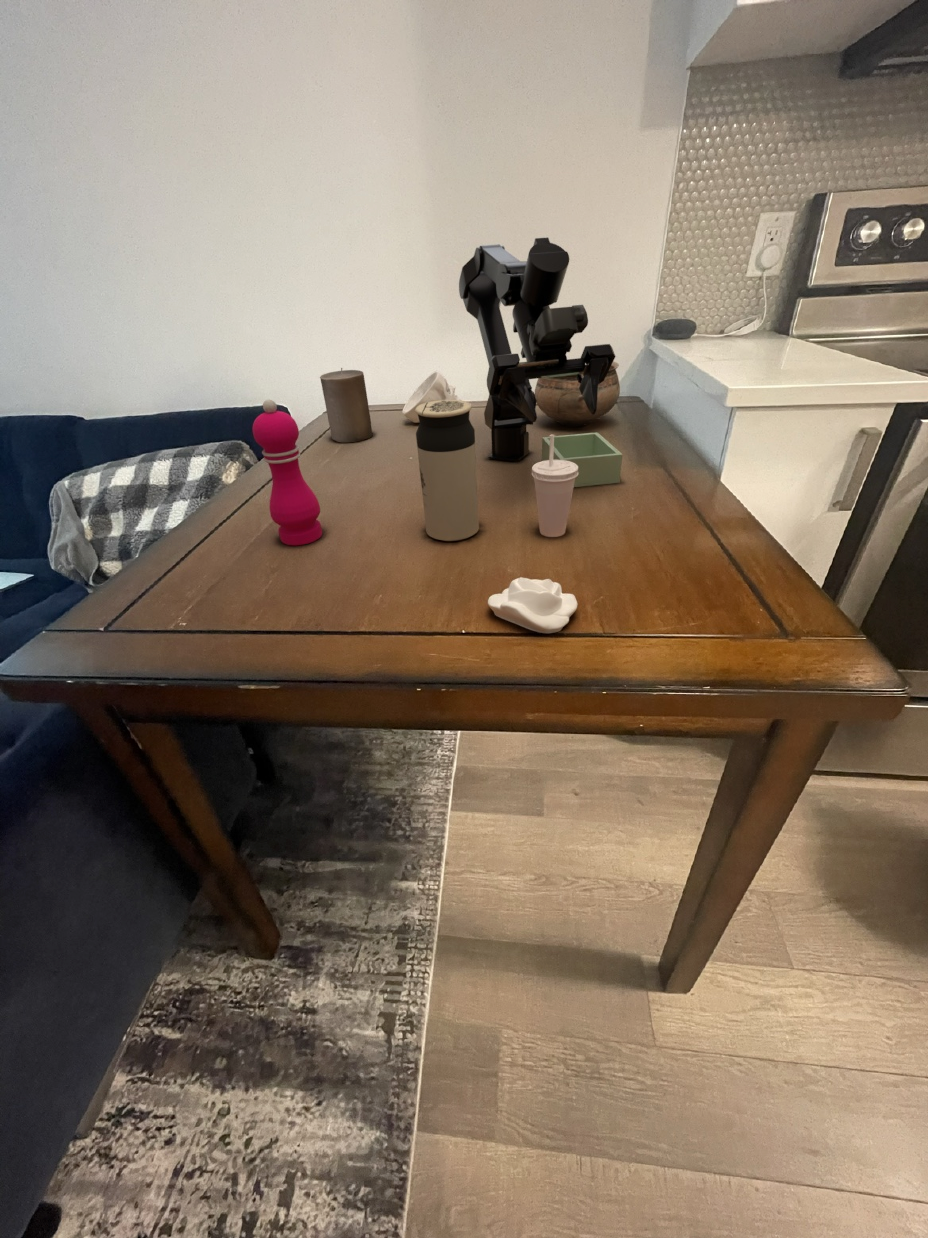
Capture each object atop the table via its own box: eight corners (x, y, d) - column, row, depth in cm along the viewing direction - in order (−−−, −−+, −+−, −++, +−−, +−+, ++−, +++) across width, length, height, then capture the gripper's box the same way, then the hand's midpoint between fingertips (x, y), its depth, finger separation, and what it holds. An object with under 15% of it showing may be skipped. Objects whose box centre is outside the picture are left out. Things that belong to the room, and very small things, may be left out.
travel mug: (483, 520, 84) (478, 398, 74) (473, 543, 78) (466, 413, 68) (433, 519, 86) (422, 399, 76) (420, 541, 79) (405, 414, 69)
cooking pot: (526, 412, 137) (527, 359, 130) (601, 406, 137) (605, 353, 130) (543, 440, 116) (545, 379, 109) (631, 434, 116) (638, 372, 110)
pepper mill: (283, 551, 79) (244, 409, 68) (273, 533, 85) (236, 399, 73) (331, 539, 82) (301, 400, 71) (318, 522, 87) (289, 390, 76)
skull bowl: (475, 415, 132) (445, 371, 125) (430, 451, 135) (398, 410, 128) (467, 404, 140) (439, 363, 133) (425, 439, 143) (395, 400, 137)
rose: (490, 605, 56) (484, 560, 64) (491, 639, 59) (485, 592, 67) (586, 599, 56) (568, 555, 64) (583, 633, 59) (566, 587, 67)
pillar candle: (378, 430, 131) (368, 362, 122) (365, 442, 123) (353, 371, 114) (340, 431, 132) (328, 364, 124) (324, 443, 125) (310, 372, 116)
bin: (541, 463, 105) (542, 437, 102) (595, 458, 105) (597, 432, 102) (559, 488, 93) (560, 459, 91) (619, 482, 94) (622, 454, 91)
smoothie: (527, 524, 82) (527, 430, 74) (568, 520, 82) (574, 426, 75) (535, 543, 77) (537, 443, 69) (579, 539, 77) (586, 439, 69)
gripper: (486, 290, 74) (514, 383, 70) (612, 280, 77) (646, 368, 73) (476, 353, 85) (500, 437, 81) (587, 341, 88) (616, 422, 84)
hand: (565, 416), depth 79 cm, fingers open, 9 cm apart
